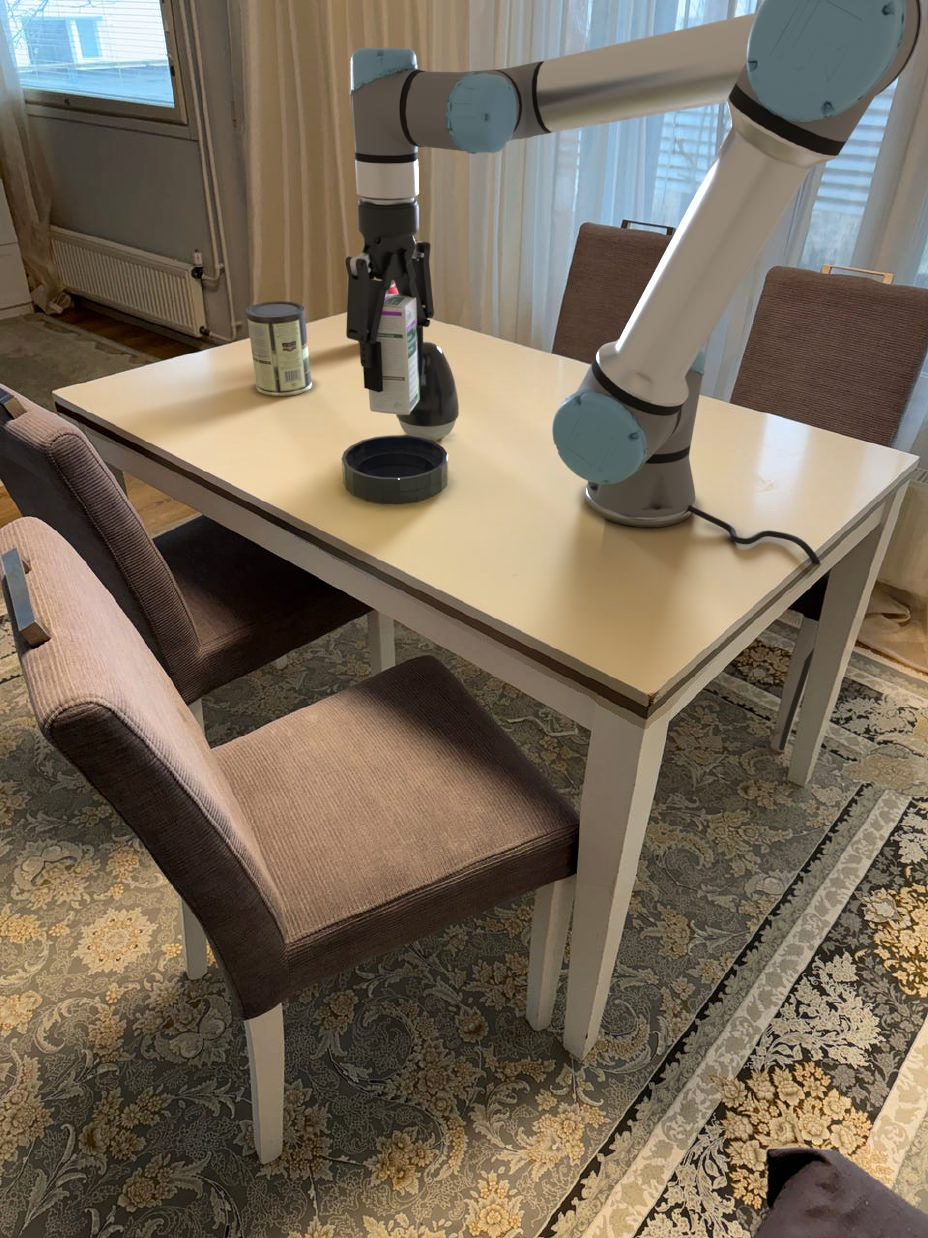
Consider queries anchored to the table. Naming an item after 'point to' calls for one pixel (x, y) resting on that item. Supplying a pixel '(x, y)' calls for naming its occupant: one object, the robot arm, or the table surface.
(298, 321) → the coffee can
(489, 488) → the table surface
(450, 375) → the pump dispenser
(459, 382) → the table surface
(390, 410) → the syrup box
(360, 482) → the bowl
